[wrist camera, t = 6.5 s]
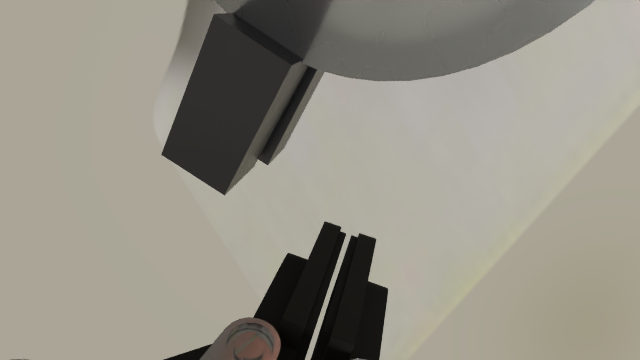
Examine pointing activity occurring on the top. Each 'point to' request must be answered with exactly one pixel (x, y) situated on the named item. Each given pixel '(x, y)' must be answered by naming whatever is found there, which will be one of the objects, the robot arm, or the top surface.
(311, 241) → the top surface
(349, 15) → the cooker lid
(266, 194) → the top surface
